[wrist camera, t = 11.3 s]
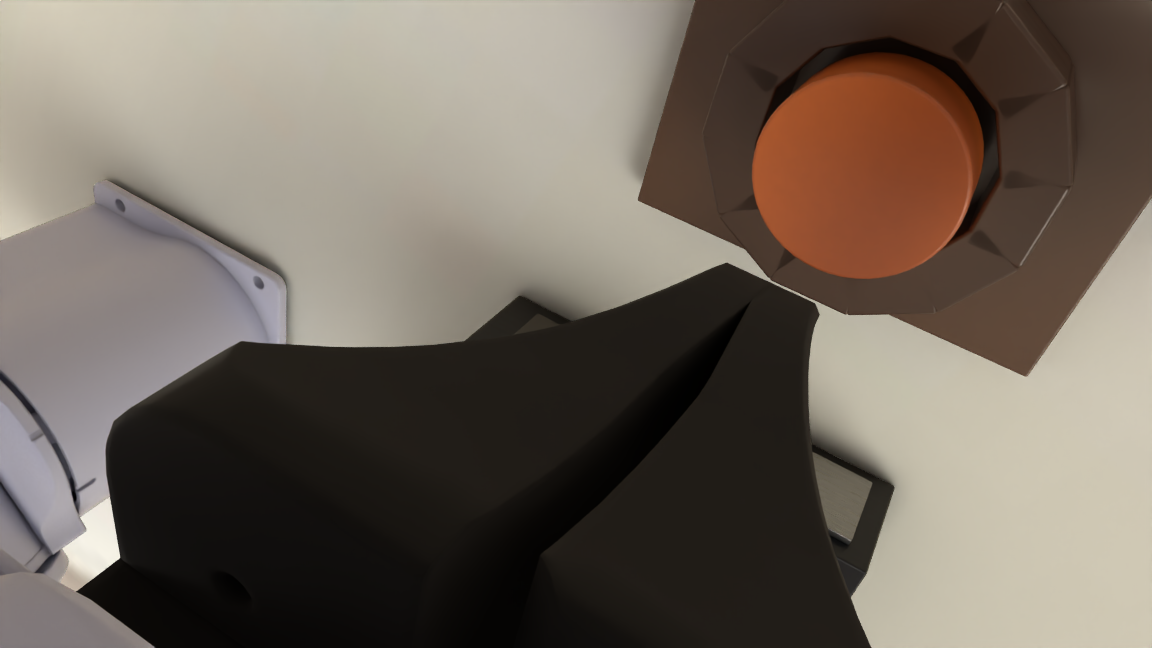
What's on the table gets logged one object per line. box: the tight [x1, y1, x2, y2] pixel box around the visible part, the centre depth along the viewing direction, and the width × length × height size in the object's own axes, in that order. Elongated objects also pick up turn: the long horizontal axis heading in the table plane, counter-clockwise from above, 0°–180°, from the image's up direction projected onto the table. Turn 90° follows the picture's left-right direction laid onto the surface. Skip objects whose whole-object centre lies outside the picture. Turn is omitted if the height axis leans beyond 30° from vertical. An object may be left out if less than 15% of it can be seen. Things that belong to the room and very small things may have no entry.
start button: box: [752, 52, 984, 279], centre depth 17 cm, size 4×4×2 cm
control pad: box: [638, 0, 1152, 376], centre depth 18 cm, size 10×8×2 cm
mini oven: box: [465, 296, 894, 597], centre depth 26 cm, size 12×11×4 cm
